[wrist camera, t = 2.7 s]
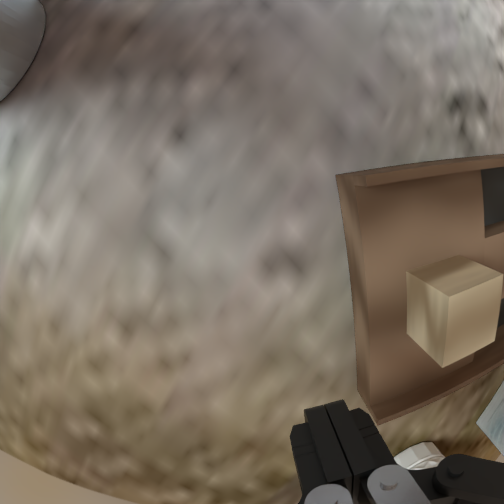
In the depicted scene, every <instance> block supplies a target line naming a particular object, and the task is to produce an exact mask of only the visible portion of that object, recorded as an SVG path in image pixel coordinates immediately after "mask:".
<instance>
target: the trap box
mask: <svg viewBox="0 0 504 504" xmlns="http://www.w3.org/2000/svg"><path fill="white" fill-rule="evenodd" d="M336 181H337V187H338V192H339V198H340V205H341V211H342V218H343V224H344V231H345V239H346V246H347V254H348V263H349V271H350V281H351V291H352V301H353V313H354V326H355V342H356V361H357V390H358V392H359V394H360V395H361V397H362V399H363V400H364V402H365V404H366V406H367V407H368V409H369V411H370V413H371V414H372V416H373V418H374V420H375V421H376V423H377V425H380V424H383V423H386V422H388V421H391V420H393V419H396V418H398V417H401V416H403V415H406V414H408V413H410V412H413V411H415V410H417V409H419V408H422V407H424V406H426V405H428V404H430V403H433V402H435V401H437V400H439V399H441V398H443V397H445V396H447V395H449V394H451V393H453V392H455V391H457V390H459V389H461V388H462V387H464V386H466V385H468V384H470V383H472V382H473V381H475V380H477V379H479V378H480V377H482V376H484V375H485V374H487V373H489V372H490V371H492V370H494V369H495V368H497V367H499V366H500V365H502V364H503V363H504V154H499V155H486V156H475V157H465V158H455V159H445V160H436V161H428V162H420V163H412V164H404V165H397V166H390V167H383V168H376V169H369V170H363V171H357V172H350V173H344V174H338V175H336ZM456 255H460V256H462V257H465V258H467V259H470V260H472V261H474V262H477V263H479V264H481V265H484V266H486V267H488V268H491V269H493V270H495V271H497V272H500V273H502V274H503V285H502V295H501V303H500V311H499V318H498V324H497V330H496V336H495V341H494V342H492V343H490V344H488V345H487V346H485V347H483V348H481V349H479V350H477V351H475V352H474V353H472V354H470V355H468V356H466V357H464V358H462V359H460V360H458V361H456V362H454V363H452V364H450V365H448V366H445V367H443V368H442V367H441V366H440V365H439V364H438V363H437V362H436V361H435V360H434V359H433V358H432V357H430V356H429V355H428V354H427V353H426V352H425V351H424V350H423V349H422V348H421V347H420V346H419V345H418V344H417V343H416V342H415V341H414V340H413V339H412V338H411V337H410V336H409V335H408V334H407V281H406V271H408V270H411V269H415V268H418V267H421V266H425V265H428V264H431V263H434V262H438V261H441V260H444V259H447V258H450V257H453V256H456Z"/></svg>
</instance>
